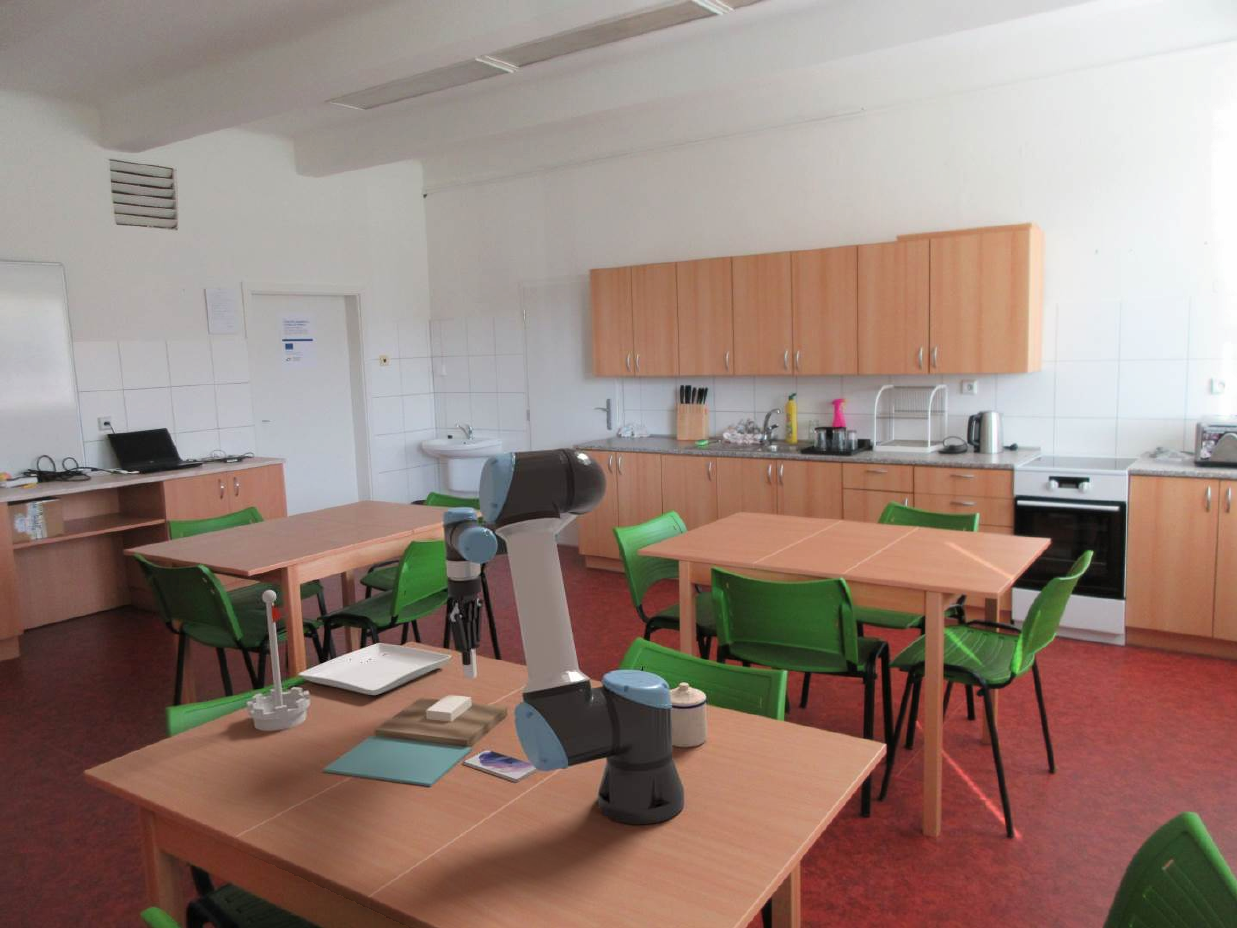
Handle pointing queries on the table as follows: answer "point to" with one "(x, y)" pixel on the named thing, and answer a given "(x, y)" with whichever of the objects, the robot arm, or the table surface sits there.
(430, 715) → the ceramic tile
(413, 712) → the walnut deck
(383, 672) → the square plate
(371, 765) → the teal mat
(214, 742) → the table surface
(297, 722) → the flag stand
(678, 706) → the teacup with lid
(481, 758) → the smartphone
